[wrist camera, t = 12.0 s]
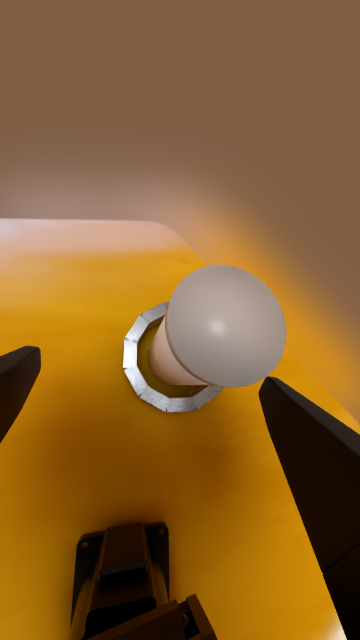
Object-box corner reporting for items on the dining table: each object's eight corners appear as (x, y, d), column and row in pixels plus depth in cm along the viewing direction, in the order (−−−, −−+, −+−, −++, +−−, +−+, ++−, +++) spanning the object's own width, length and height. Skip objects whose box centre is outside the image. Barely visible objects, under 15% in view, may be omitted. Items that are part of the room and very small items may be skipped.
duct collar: (220, 405, 21) (234, 408, 18) (122, 410, 19) (121, 415, 16) (213, 314, 24) (225, 304, 21) (126, 311, 22) (126, 300, 19)
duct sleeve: (185, 396, 21) (264, 411, 8) (135, 370, 20) (143, 346, 8) (207, 347, 22) (299, 301, 10) (161, 322, 22) (200, 244, 10)
